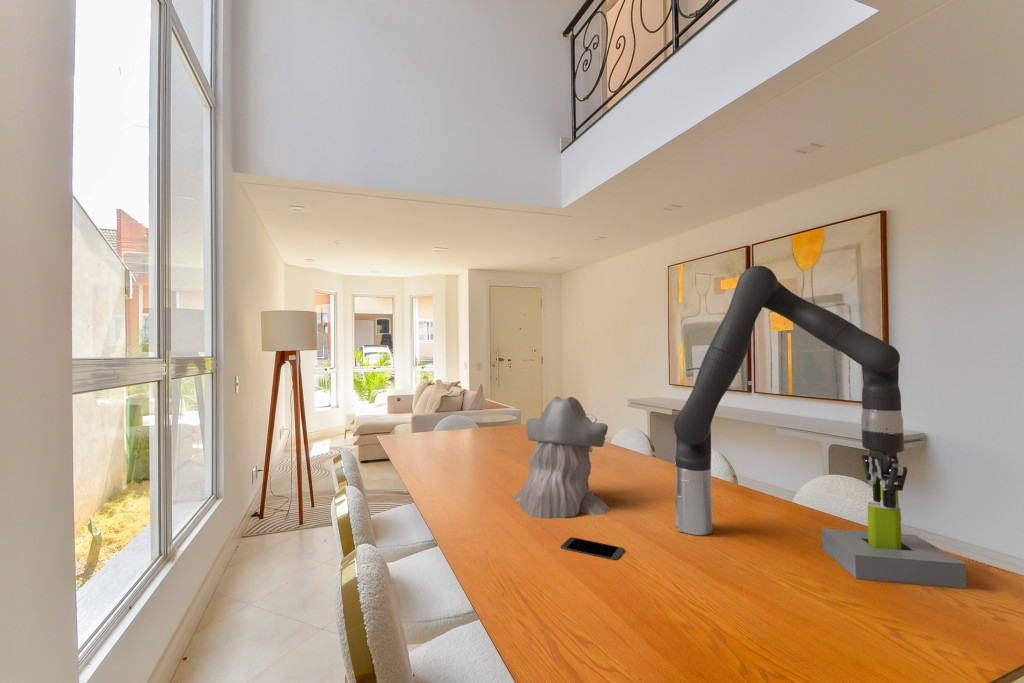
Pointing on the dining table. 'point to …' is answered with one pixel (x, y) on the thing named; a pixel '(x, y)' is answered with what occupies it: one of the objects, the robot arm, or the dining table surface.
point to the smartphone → (593, 548)
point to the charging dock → (894, 560)
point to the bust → (562, 462)
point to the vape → (884, 524)
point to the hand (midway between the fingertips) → (884, 504)
